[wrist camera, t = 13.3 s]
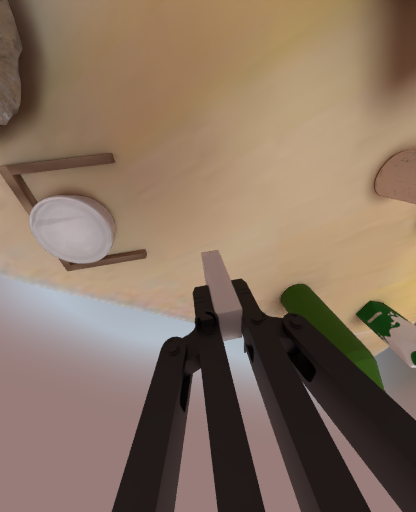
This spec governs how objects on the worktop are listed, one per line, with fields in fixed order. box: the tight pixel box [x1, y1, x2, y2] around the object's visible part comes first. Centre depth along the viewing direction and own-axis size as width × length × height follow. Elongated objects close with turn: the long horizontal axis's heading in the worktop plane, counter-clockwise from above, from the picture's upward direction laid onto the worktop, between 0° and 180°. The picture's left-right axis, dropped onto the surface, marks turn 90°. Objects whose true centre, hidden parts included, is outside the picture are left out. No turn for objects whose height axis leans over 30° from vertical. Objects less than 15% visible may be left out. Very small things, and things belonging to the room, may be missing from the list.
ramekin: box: [29, 195, 115, 264], centre depth 29 cm, size 11×11×5 cm
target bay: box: [0, 153, 147, 271], centre depth 30 cm, size 18×15×2 cm
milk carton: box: [356, 301, 416, 368], centre depth 54 cm, size 9×9×20 cm
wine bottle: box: [281, 284, 386, 393], centre depth 38 cm, size 9×9×32 cm
